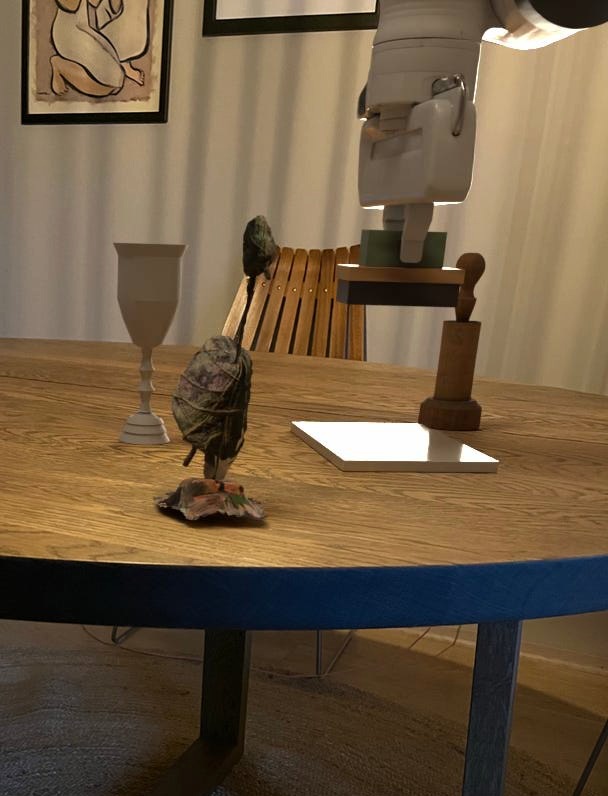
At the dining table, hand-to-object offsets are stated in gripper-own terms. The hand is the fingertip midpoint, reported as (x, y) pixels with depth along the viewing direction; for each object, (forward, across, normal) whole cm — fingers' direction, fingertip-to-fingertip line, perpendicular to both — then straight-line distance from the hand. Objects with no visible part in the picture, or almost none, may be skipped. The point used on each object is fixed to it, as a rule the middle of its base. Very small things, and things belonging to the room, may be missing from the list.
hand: (401, 262), depth 92 cm
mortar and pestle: (+17, +17, -13) cm, 27 cm away
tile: (+17, +2, -1) cm, 17 cm away
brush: (+4, 0, 0) cm, 4 cm away
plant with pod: (+17, -23, +20) cm, 35 cm away
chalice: (+17, +5, +22) cm, 28 cm away
